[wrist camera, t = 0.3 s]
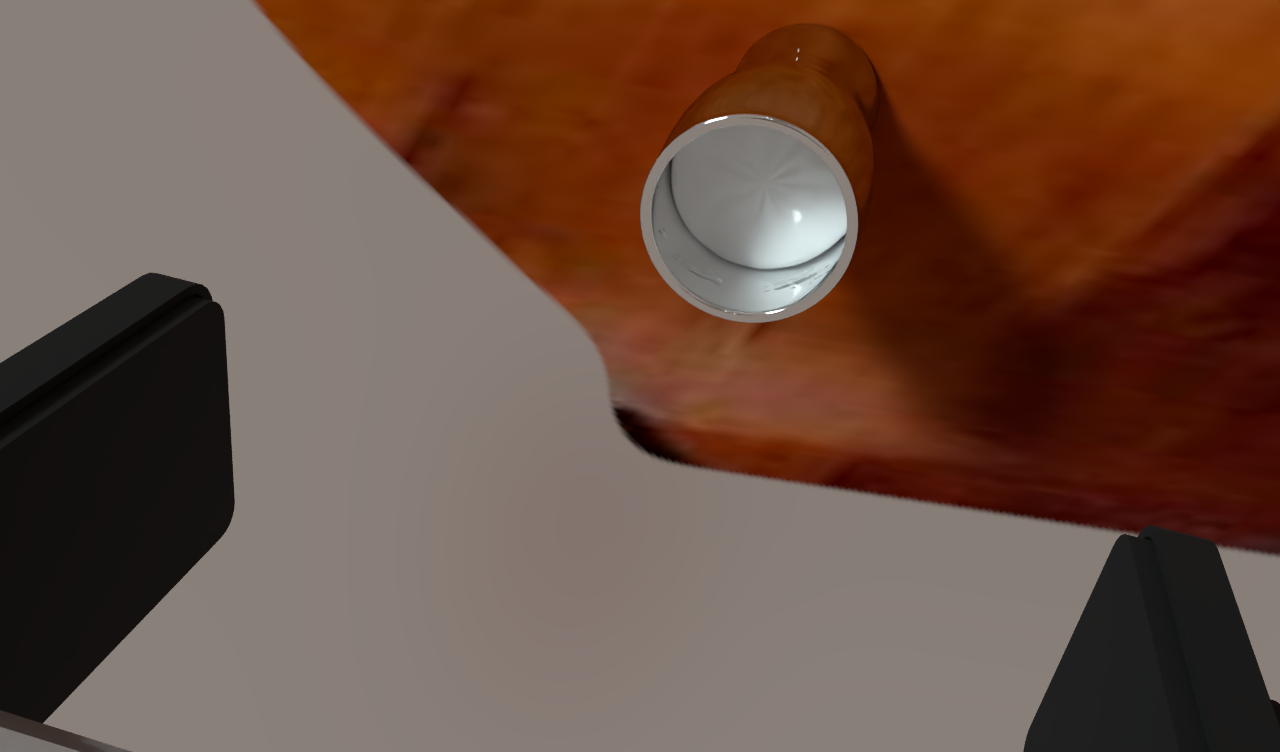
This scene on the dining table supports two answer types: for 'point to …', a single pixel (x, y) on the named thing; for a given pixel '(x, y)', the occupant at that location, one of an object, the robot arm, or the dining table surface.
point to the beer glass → (767, 179)
